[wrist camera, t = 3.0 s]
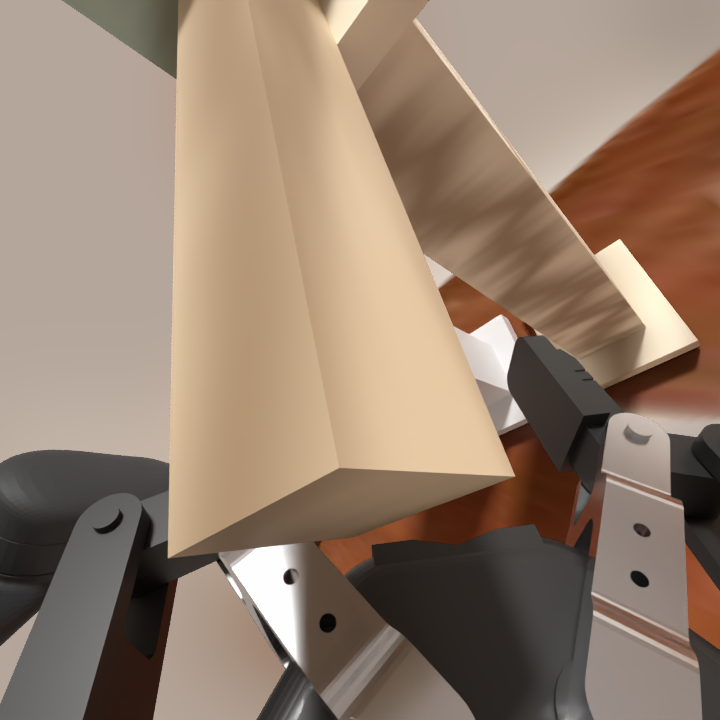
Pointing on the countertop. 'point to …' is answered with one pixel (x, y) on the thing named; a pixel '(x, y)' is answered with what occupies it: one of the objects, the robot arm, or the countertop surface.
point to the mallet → (295, 294)
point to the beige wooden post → (495, 202)
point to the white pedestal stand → (493, 370)
